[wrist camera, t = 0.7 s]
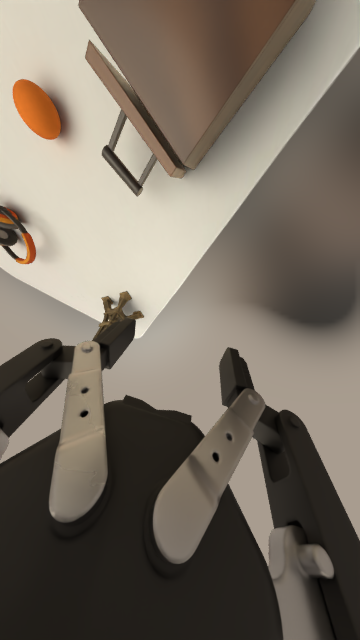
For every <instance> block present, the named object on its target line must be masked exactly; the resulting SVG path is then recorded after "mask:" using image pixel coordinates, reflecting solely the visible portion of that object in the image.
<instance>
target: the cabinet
mask: <svg viewBox="0 0 360 640" xmlns="http://www.w3.org/2000/svg"><path fill="white" fill-rule="evenodd" d="M315 2H316V0H79V8H80V9H81V11H82V12H83V14H84V15H85V17H86V18H87V20H88V21H89V23H90V24H91V26H92V27H93V29H94V31H95V32H96V34H97V35H98V37H99V38H100V40H101V41H102V43H103V44H104V46H105V47H106V49H107V50H108V52H109V53H110V55H111V56H112V58H113V59H114V61H115V62H116V64H117V65H118V67H119V68H120V70H121V71H122V73H123V74H124V76H125V77H126V79H127V80H128V82H129V83H130V85H131V86H132V88H133V90H134V91H135V93H136V94H137V96H138V97H139V99H140V100H141V102H142V103H143V105H144V106H145V108H146V109H147V111H148V112H149V114H150V115H151V117H152V118H153V120H154V121H155V123H156V124H157V126H158V127H159V129H160V130H161V132H162V133H163V135H164V136H165V138H166V139H167V141H168V142H169V144H170V146H171V147H172V149H173V150H174V152H175V153H176V155H177V156H178V158H179V159H180V161H181V162H182V164H183V165H185V166H187V167H189V168H191V169H192V170H194V169H195V168H196V166H197V165H198V164H199V162H200V161H201V160H202V158H203V157H204V156H205V154H206V153H207V152H208V150H209V149H210V148H211V146H212V145H213V143H214V142H215V141H216V139H217V138H218V137H219V135H220V134H221V133H222V131H223V130H224V129H225V127H226V126H227V125H228V123H229V122H230V120H231V119H232V118H233V116H234V115H235V114H236V112H237V111H238V110H239V108H240V107H241V106H242V104H243V103H244V102H245V100H246V99H247V98H248V96H249V95H250V93H251V92H252V91H253V89H254V88H255V87H256V85H257V84H258V83H259V81H260V80H261V79H262V77H263V76H264V75H265V73H266V72H267V70H268V69H269V68H270V66H271V65H272V64H273V62H274V61H275V60H276V58H277V57H278V56H279V54H280V53H281V52H282V50H283V49H284V47H285V46H286V45H287V43H288V42H289V41H290V39H291V38H292V37H293V35H294V34H295V33H296V31H297V30H298V29H299V27H300V26H301V25H302V23H303V22H304V20H305V19H306V18H307V16H308V15H309V14H310V12H311V10H312V8H313V6H314V4H315Z"/></svg>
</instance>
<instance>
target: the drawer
mask: <svg viewBox="0 0 360 640" xmlns="http://www.w3.org/2000/svg"><path fill="white" fill-rule="evenodd" d="M85 58H86V60H87V62H88V63H89V64H90V66H91V67H92V68H93V70H94V71H95V73H96V74H97V75H98V77H99V78H100V80H101V81H102V82H103V84H104V85H105V87H106V88H107V89H108V91H109V92H110V94H111V95H112V96H113V98H114V99H115V101H116V102H117V103H118V105H119V106H120V107H121V112H120V115H119V117H118V120H117V123H116V126H115V128H114V131H113V134H112V136H111V139H110V142H109V145H106V146H105V147H104V148H103V150H102V156H103V158H104V159H105V160H106V161H107V162H108V163H109V165H110V166H111V167H112V168H113V169H114V170H115V172H116V173H117V174H118V175H119V176H120V177H121V179H122V180H123V181H124V182H125V183H126V184H127V186H128V187H129V188H130V189H131V190H132V192H133V193H134V194H135V195H136V196H139V195H140V194H141V192H142V190H143V187H142V186H143V184H144V182H145V180H146V179H147V177H148V175H149V173H150V172H151V170H152V168H153V166H154V165H155V163H156V161H157V159H158V160H159V162H160V163H161V165H162V166H163V167H164V169H165V170H166V172H167V173H168V174H169V176H170V177H176V178H182V177H183V176H184V174H185V173H186V170H185V168H184V167H183V165H182V164H181V162H180V161H179V159H178V158H177V156H176V155H175V153H174V152H173V150H172V149H171V147H170V146H169V144H168V143H167V141H166V140H165V138H164V137H163V135H162V133H161V132H160V130H159V129H158V127H157V126H156V124H155V123H154V121H153V120H152V118H151V117H150V115H149V114H148V112H147V111H146V109H145V108H144V106H143V105H142V103H141V102H140V100H139V99H138V97H137V96H136V94H135V93H134V91H133V90H132V88H131V87H130V85H129V84H128V82H127V81H126V80H125V79H124V78H123V77H122V76H121V74H120V73H119V72H118V71H117V70H116V69H115V68H114V67H113V66H112V64H111V63H110V62H109V61H108V60H107V59H106V58H105V57H104V55H103V54H102V53H101V52H100V51H99V50H98V49H97V48H96V46H95V45H94V44H93V43H92V42H91V41H90V40H89V42H88V47H87V52H86V56H85ZM127 117H128V119H129V120H130V121H131V123H132V124H133V126H134V127H135V128H136V130H137V131H138V133H139V134H140V135H141V137H142V138H143V140H144V141H145V142H146V144H147V145H148V147H149V148H150V149H151V151H152V152H153V153H154V154H153V155H152V157H151V159H150V161H149V163H148V165H147V166H146V168H145V170H144V172H143V174H142V176H141V177H140V179H139V181H137V180H136V179H135V178H134V176H133V175H132V174H131V173H130V171H129V170H128V169H127V168H126V167H125V165H124V164H123V163H122V162H121V160H120V159H119V158H118V157H117V155H116V154H115V153H114V152H113V151H114V149H115V147H116V144H117V141H118V139H119V136H120V134H121V131H122V129H123V126H124V124H125V121H126V119H127Z"/></svg>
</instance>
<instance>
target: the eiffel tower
mask: <svg viewBox="0 0 360 640" xmlns="http://www.w3.org/2000/svg"><path fill="white" fill-rule="evenodd" d="M101 299H102V300H103V304H104V309H105V313H104V320H103V322H102V323H101V324H99V327H100V328H99V330H98V332H97V333H96V335H95V337H94V338H93V340H94V339H95V338H96V337H97V336H98V335H100V334H101V333H102V332H103V331H105V329H107V328H108V327H109V326H110V325H111V324H113V323H115V322H117V321H120V322H121V321H122V320H124V319H125V318H126V317H128V318H131V319H139V318H144V316H143V315H142V313H141V312H140V311H137V312H133V315H130V316H126V315H124V313H123V311H122V307H123V306H124V305H125V304H126V303H127V301H128V300H130V299H132V298H131V297H130V295H129V294H128V292H127V291H126V292H122V293H120V299H119V304H118V307H116V308H114V309H112V308H111V304H113V302H112V301H111V300H110V298H109V297H108V296H107V297H104V298H101ZM108 319H109V321H108ZM93 340H92V341H93Z"/></svg>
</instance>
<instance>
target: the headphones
mask: <svg viewBox="0 0 360 640" xmlns="http://www.w3.org/2000/svg"><path fill="white" fill-rule="evenodd" d="M18 228H19V230H20V231H21V233H22V237H23V239H24V241H25V244H26V247H27V257H26V259H25V260H24V259H22V258H19V257H18V256H17V255H15V254H14V252H13V251H12V250H11V249H10V248H9V247H8V246H13V245H14V244H16V242H17V240H18V238H17V235H16V234H15V232H14V231H13V230H12V229H18ZM0 245H1V246H2V247H3V248H4V249H5V250H6V251H7V253H8V254H9V255H10V256H11V257H12V258H14V259H15V260H16V262H18V263H20V264H29V263H32V262H33V261H34V260H35V257H36V249H35V245H34V242H33V239H32V237H31V235H30V234H29V233H28V232H27V231H26V229H25V228H24V226H23V225H22V224H21V222H20V220H19V219H18V217H17V215H16V214H15V213H14V212H13V211H11V210H10V209H8V208H6V207H3V206H0Z"/></svg>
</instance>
